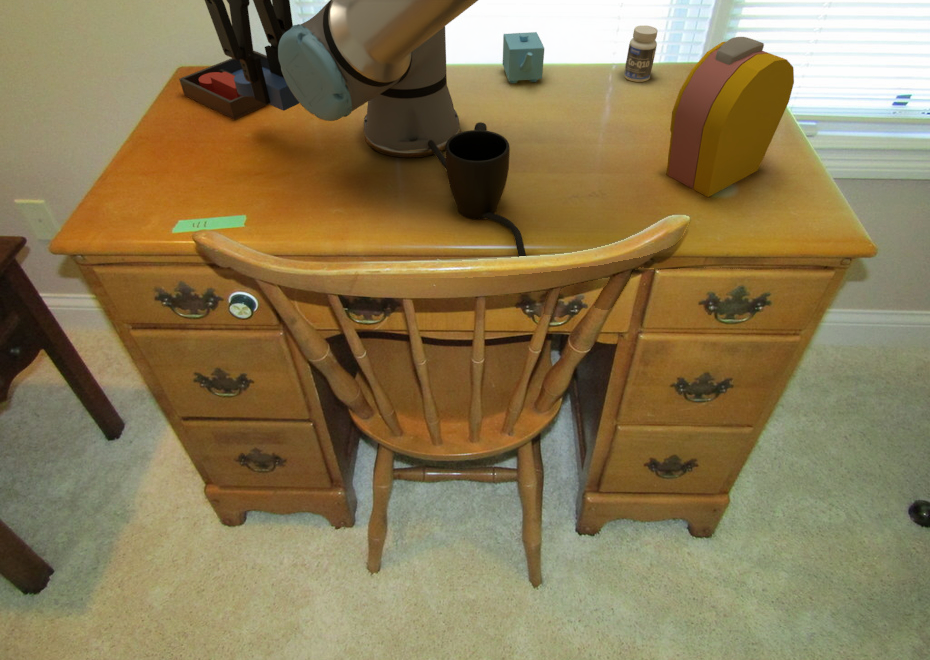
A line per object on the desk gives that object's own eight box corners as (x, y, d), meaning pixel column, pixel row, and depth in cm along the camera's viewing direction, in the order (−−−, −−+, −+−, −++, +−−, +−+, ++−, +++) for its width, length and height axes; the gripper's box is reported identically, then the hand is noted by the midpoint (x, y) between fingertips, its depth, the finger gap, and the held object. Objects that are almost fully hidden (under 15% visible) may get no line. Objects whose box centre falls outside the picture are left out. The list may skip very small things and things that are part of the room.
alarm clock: (719, 144, 98) (756, 20, 85) (764, 166, 94) (811, 39, 81) (654, 176, 92) (683, 48, 79) (699, 201, 87) (739, 69, 74)
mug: (511, 178, 92) (513, 117, 85) (504, 227, 84) (507, 163, 77) (455, 175, 93) (453, 114, 86) (443, 223, 84) (440, 160, 78)
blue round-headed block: (303, 101, 94) (299, 80, 91) (279, 113, 91) (274, 91, 89) (255, 80, 99) (250, 60, 97) (231, 90, 96) (225, 70, 94)
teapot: (545, 92, 112) (548, 49, 106) (511, 94, 111) (513, 51, 106) (532, 64, 120) (535, 22, 114) (501, 65, 119) (502, 24, 114)
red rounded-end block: (258, 98, 109) (253, 80, 107) (236, 108, 107) (230, 90, 104) (218, 80, 114) (213, 63, 112) (196, 89, 112) (190, 71, 110)
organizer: (307, 86, 114) (304, 70, 112) (234, 119, 106) (229, 102, 103) (256, 65, 121) (252, 49, 119) (184, 95, 112) (178, 78, 110)
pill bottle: (622, 80, 114) (630, 32, 108) (625, 70, 118) (633, 22, 112) (648, 83, 113) (658, 35, 107) (651, 73, 117) (660, 25, 111)
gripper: (261, -105, 84) (298, 72, 100) (152, -79, 75) (212, 109, 92) (298, -97, 80) (330, 84, 97) (188, -70, 71) (244, 124, 88)
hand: (272, 96), depth 94 cm, fingers closed on blue round-headed block, 3 cm apart
